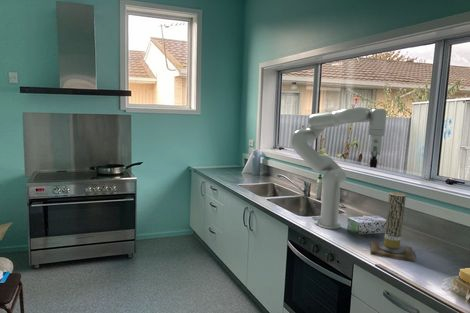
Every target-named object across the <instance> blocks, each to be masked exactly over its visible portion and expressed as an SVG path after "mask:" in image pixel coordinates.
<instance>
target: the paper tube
mask: <svg viewBox="0 0 470 313" xmlns="http://www.w3.org/2000/svg"><path fill="white" fill-rule="evenodd" d="M406 197H407V194H406V193H404V192H399V191H389V195H388V203H387V211H386V212H387V213H386V220H385V229H384V237H383V238H384V239H383V240H384V241H383V242H384V246H386V247H388V248H391V249H398V248H399V247H400V245H401V240H402V230H403V224H404V223H403V221H404V216H405V215H404V212H405V207H406V206H405V205H406Z"/></svg>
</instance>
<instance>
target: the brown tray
mask: <svg viewBox="0 0 470 313" xmlns="http://www.w3.org/2000/svg"><path fill="white" fill-rule="evenodd" d="M370 255H372V256H376V257H377V256H379V257H383V256H384V258H390V259H396V260H402V261H406V262H407V261H408V262H413V263H415V262H416V256H415V253H414V250H413V248H412V247H411V246H405V245H401V244H400V247H399V248H398V249H391V248H388V247H386V246H384V241H383V242H380V241H373V240H370Z"/></svg>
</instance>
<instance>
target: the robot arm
mask: <svg viewBox="0 0 470 313" xmlns="http://www.w3.org/2000/svg"><path fill="white" fill-rule="evenodd" d="M386 119H387V110H386V109H384V108H367V107H360V106H359V107H350V108H345V109H337V110H331V111H322V112H317V113H313V114H310V115H309V116H308V119H307V123H308V126H307V127H306V128H300V129H297V130H296V131H294V132H293V134H292V137H291V145H292V149H293V150H294V151H295V153H296V154H297V156H299V157H300V158H301V159H302V160H303V161H304V162H305V164H307V165H308V166H309V167H310V168H311V170H312V171H314V172H315V173H318V174H319V173H323V175H322V179H321V184H322V193H321V197H322V198H321V208H320V214H319V216H314V215H312V219H311V220H313V221H316V225H317V226H318V227H320V228H323V229H329V230H336V229H337V230H338V229H340V228H341V223H338V222H339V214H340V213H339V211H340V202H341V200H340V199H341V185H343V184H344V183H346V180H347V174H346V172H345V171H344V169H343V168H342V167H341V166H340V165H339V164H338V163H337V162H336V161H335V160H333V158H332V157H330V156H329V155H325V154H323V155H321V154H320V153H319V152H317V151H316V149H314V148H313V147H312V146H311V145H310V144H312V143H313V142H314V141H315V140H317V138H318V137H319V136H320V135H321V133H322V132H323V131H324V130H325V129H326V128H333V127H334V128H335V127H339V126H341V125H346V124H353V123H369V124H368V134H367V135H368V136H370V142H369V154H370V155H369V156H370V158H369V159H370V160H369V167H370V168H375V169H376V168H378V167H377V166H378V156H381V151H382V140H383V139H382V138H383V137H385V132H386V129H385V128H386Z"/></svg>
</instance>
